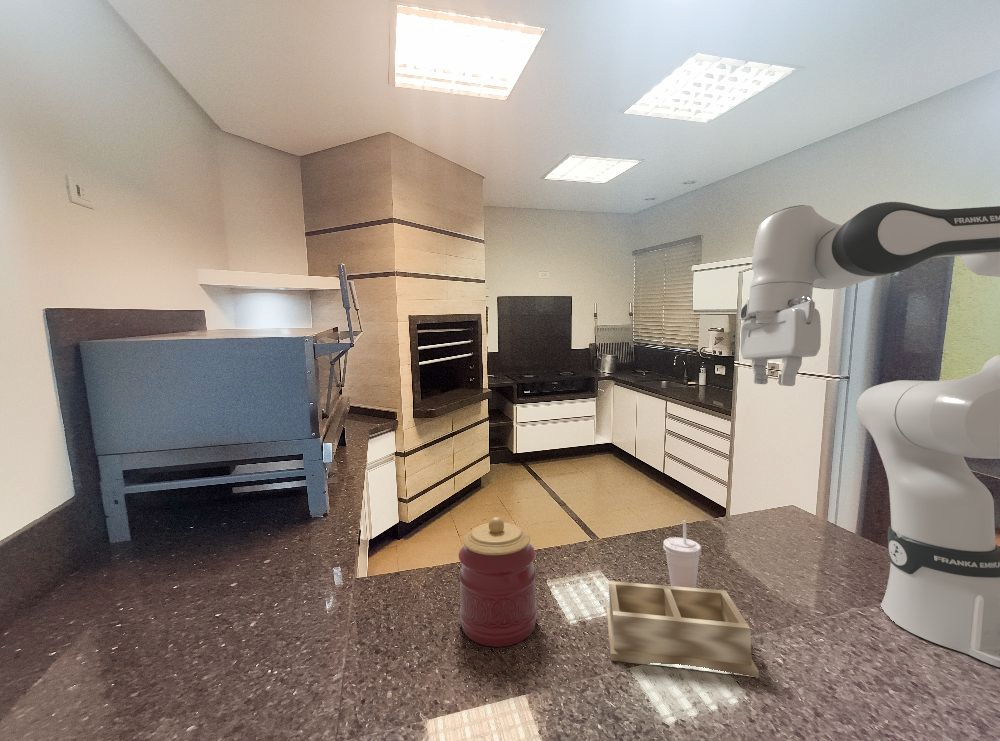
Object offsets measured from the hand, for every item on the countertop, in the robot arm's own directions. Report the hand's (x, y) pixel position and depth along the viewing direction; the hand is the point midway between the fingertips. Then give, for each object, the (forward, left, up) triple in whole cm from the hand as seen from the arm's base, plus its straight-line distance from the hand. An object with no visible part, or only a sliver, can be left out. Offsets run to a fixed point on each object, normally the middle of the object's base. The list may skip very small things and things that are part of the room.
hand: (772, 384), depth 68 cm
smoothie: (+15, -2, -39) cm, 42 cm away
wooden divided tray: (+19, +11, -39) cm, 45 cm away
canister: (+47, +11, -39) cm, 62 cm away
